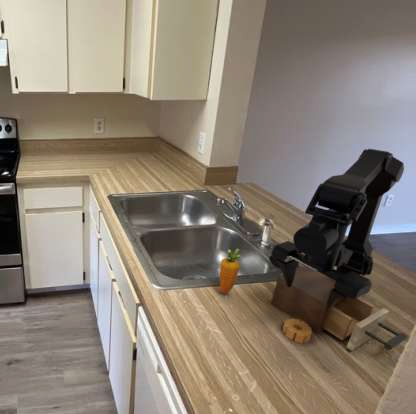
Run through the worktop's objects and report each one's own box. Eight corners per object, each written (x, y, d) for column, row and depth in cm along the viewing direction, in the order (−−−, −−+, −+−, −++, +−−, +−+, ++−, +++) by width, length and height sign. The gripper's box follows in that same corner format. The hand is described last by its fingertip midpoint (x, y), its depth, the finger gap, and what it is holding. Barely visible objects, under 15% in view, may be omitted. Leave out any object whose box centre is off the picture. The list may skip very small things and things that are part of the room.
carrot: (229, 288, 97) (238, 244, 91) (236, 299, 93) (246, 253, 87) (212, 288, 97) (220, 244, 91) (219, 300, 93) (227, 254, 86)
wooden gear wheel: (292, 322, 84) (294, 315, 84) (314, 337, 80) (317, 330, 79) (277, 329, 82) (279, 323, 81) (299, 345, 78) (302, 338, 77)
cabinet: (347, 316, 86) (358, 289, 83) (317, 333, 81) (327, 305, 77) (300, 289, 97) (308, 263, 93) (271, 302, 91) (278, 276, 88)
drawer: (405, 348, 75) (417, 325, 73) (378, 368, 71) (389, 344, 68) (329, 304, 89) (337, 283, 86) (302, 318, 84) (309, 296, 82)
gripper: (398, 250, 66) (372, 311, 72) (307, 214, 81) (292, 268, 87) (367, 264, 61) (342, 328, 68) (277, 224, 77) (263, 279, 83)
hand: (307, 297), depth 77 cm, fingers open, 9 cm apart
